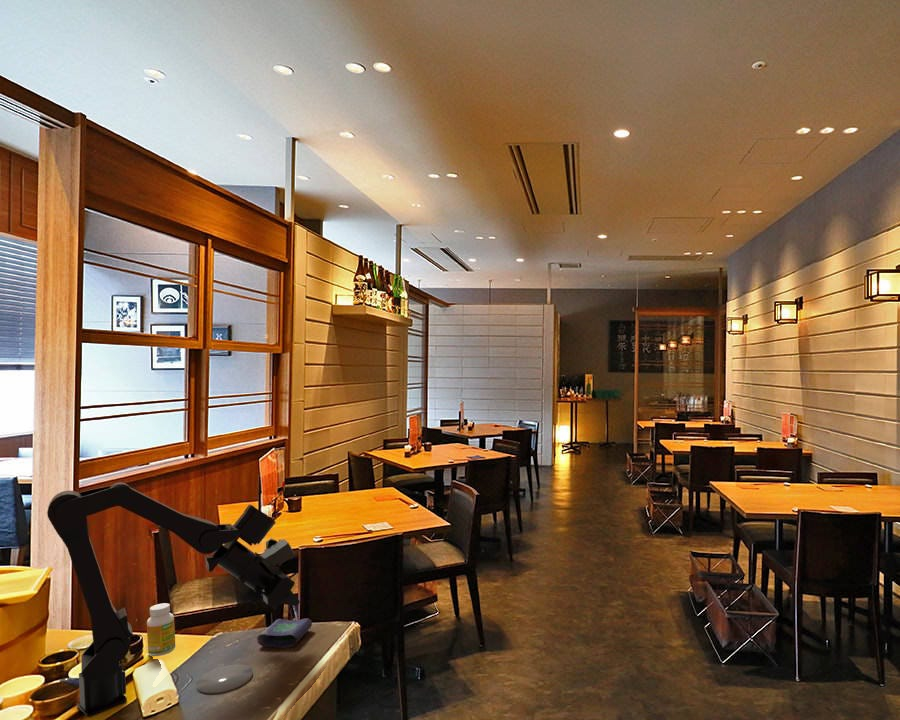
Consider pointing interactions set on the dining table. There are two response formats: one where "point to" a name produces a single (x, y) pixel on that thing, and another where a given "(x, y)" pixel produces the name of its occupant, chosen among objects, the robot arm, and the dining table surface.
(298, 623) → the flask
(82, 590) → the robot arm
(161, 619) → the supplement bottle
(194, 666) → the dining table surface
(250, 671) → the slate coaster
